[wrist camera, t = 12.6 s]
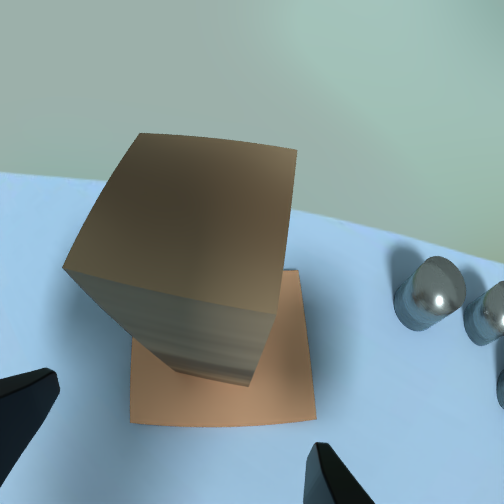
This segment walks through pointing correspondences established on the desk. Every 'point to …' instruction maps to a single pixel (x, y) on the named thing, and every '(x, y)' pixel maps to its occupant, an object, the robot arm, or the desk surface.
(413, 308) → the metal spacers
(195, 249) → the walnut post
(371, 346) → the desk surface
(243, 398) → the rubber pad
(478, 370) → the desk surface
